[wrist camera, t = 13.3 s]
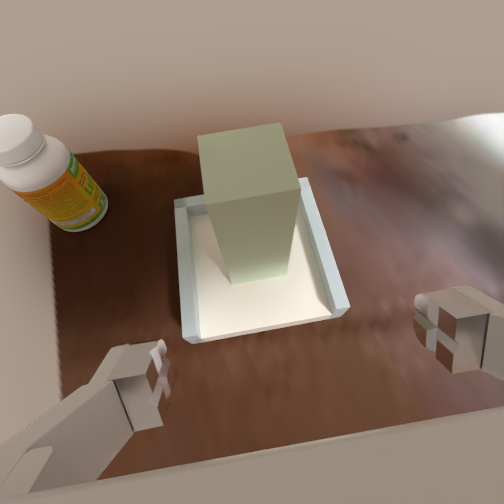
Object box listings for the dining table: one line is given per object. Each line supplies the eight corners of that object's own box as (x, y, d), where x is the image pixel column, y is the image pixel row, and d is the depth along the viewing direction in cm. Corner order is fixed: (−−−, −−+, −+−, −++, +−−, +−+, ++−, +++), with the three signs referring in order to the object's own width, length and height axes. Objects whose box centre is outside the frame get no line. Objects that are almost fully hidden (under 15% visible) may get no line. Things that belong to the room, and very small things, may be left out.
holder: (303, 197, 28) (307, 177, 25) (340, 316, 23) (350, 306, 20) (182, 218, 28) (174, 199, 25) (192, 344, 22) (182, 337, 20)
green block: (275, 228, 25) (280, 122, 15) (286, 274, 23) (301, 188, 13) (224, 236, 25) (197, 135, 15) (231, 284, 23) (205, 204, 13)
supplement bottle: (118, 214, 28) (51, 136, 20) (66, 243, 27) (-29, 174, 18) (97, 180, 30) (29, 96, 22) (49, 206, 29) (-44, 127, 20)
